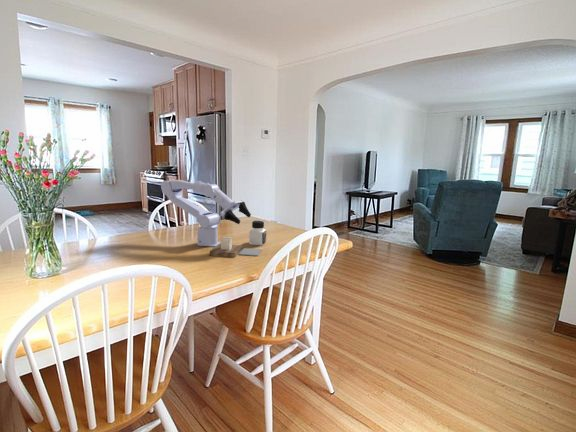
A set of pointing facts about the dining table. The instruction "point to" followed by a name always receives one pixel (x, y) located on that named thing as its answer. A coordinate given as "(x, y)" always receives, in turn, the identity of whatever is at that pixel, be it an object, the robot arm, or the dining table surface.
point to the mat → (250, 252)
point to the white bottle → (257, 233)
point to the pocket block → (226, 251)
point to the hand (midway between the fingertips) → (244, 219)
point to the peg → (226, 243)
